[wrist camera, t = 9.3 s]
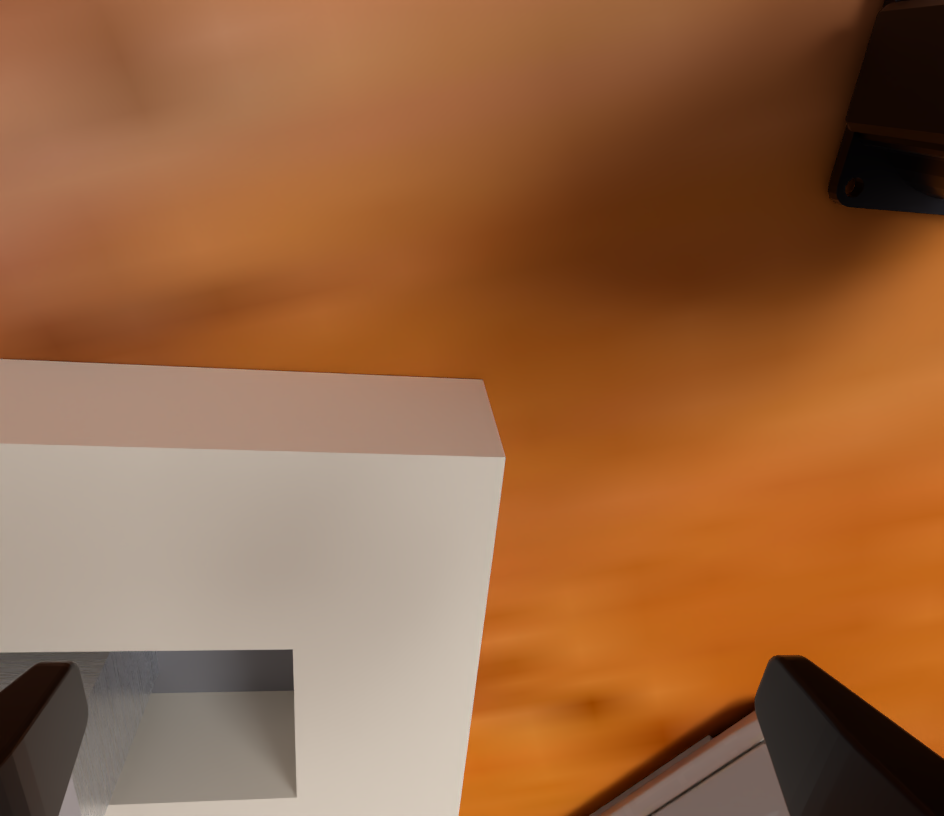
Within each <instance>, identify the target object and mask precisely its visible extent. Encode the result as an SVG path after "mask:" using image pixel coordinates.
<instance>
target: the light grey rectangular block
mask: <svg viewBox="0 0 944 816" xmlns="http://www.w3.org/2000/svg"><path fill="white" fill-rule="evenodd" d="M42 661H73V662H75V663H77V665H78V666H79V669H80V672H81V677H82V681H83V686H84V690H85V695H86V699H87V704H88V721H87V726H86V730H85V733H84V736H83V740H82V743H81V746H80V749H79V752H78V756H77V759H76V762H75V765H74V768H73V772H72V775H71V778H70V781H69V784H68V788H67V791H66V794H65V797H64V800H63V804H62V807H61V810H60V813H59V816H104V815H105V813H106V810H107V807H108V805H109V802H110V800H111V797H112V794H113V792H114V789H115V786H116V784H117V781H118V779H119V776H120V773H121V771H122V768H123V765H124V763H125V760H126V758H127V755H128V752H129V750H130V747H131V744H132V742H133V739H134V737H135V734H136V731H137V729H138V726H139V723H140V721H141V718H142V716H143V713H144V710H145V708H146V705H147V702H148V700H149V697H150V695H151V692H152V689H153V687H154V684H155V681H156V679H157V676H158V674H159V664H158V657H157V651H99V652H6V653H0V691H1V690H3V689H4V688H5V687H6V686H8V685H9V684H10V683H11V682H13V681H14V680H15V679H17V678H18V677H19V676H20V675H22V674H23V673H24V672H25V671H27V670H28V669H29V668H31V667H32V666H33V665H35V664H37V663H39V662H42Z"/></svg>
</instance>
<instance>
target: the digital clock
mask: <svg viewBox="0 0 944 816" xmlns="http://www.w3.org/2000/svg"><path fill="white" fill-rule="evenodd" d="M589 816H790V815H789V812H788V810H787V807H786V804H785V801H784V798H783V795H782V792H781V789H780V786H779V783H778V780H777V777H776V774H775V771H774V768H773V765H772V762H771V759H770V756H769V753H768V750H767V747H766V744H765V740H764V737H763V734H762V731H761V728H760V725H759V722H758V719H757V716H756V712H755V711H753V712H752V713H750V714H749V715H747V716H746V717H744V718H743V719H741V720H740V721H738V722H737V723H735V724H734V725H732V726H731V727H729V728H728V729H727V730H725V731H724V732H722V733H721V734H719V735H718V736H716V737H715V738H713V737H711V736H710V735H708V736H706V737H705V738H703V739H702V740H700V741H699V742H697V743H696V744H694V745H693V746H692V747H690V748H689V749H687V750H686V751H684V752H683V753H681V754H680V755H678V756H677V757H675V758H674V759H672V760H671V761H669V762H668V763H666V764H665V765H663V766H662V767H660V768H659V769H657V770H656V771H655V772H653V773H652V774H650V775H649V776H647V777H646V778H644V779H643V780H641V781H640V782H638V783H637V784H635V785H634V786H632V787H631V788H629V789H628V790H626V791H625V792H623V793H622V794H621V795H619V796H618V797H616V798H615V799H613V800H612V801H610V802H609V803H607V804H606V805H604V806H603V807H601V808H600V809H598V810H597V811H595V812H594V813H592V814H591V815H589Z"/></svg>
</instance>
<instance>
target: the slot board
mask: <svg viewBox="0 0 944 816" xmlns="http://www.w3.org/2000/svg"><path fill="white" fill-rule="evenodd" d="M505 459H506V457H505V453H504V450H503V447H502V443H501V440H500V436H499V433H498V430H497V426H496V423H495V419H494V416H493V413H492V409H491V406H490V402H489V399H488V396H487V392H486V389H485V386H484V382H483V380H479V379H456V378H433V377H409V376H386V375H363V374H339V373H316V372H292V371H269V370H246V369H222V368H199V367H176V366H152V365H129V364H106V363H82V362H59V361H36V360H12V359H0V653H6V652H99V651H157V657H158V664H159V674H158V676H157V679H156V681H155V684H154V687H153V689H152V692H151V695H150V697H149V700H148V702H147V705H146V708H145V710H144V713H143V716H142V718H141V721H140V723H139V726H138V729H137V731H136V734H135V737H134V739H133V742H132V744H131V747H130V750H129V752H128V755H127V758H126V760H125V763H124V765H123V768H122V771H121V773H120V776H119V779H118V781H117V784H116V786H115V789H114V792H113V794H112V797H111V800H110V802H109V805H108V807H107V810H106V813H105V815H104V816H458V815H459V807H460V800H461V792H462V785H463V777H464V769H465V762H466V754H467V747H468V739H469V732H470V724H471V716H472V709H473V701H474V694H475V686H476V678H477V671H478V663H479V656H480V648H481V641H482V633H483V625H484V618H485V610H486V603H487V595H488V588H489V580H490V572H491V565H492V557H493V550H494V542H495V535H496V527H497V519H498V512H499V504H500V497H501V489H502V482H503V474H504V466H505Z"/></svg>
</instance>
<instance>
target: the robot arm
mask: <svg viewBox="0 0 944 816" xmlns="http://www.w3.org/2000/svg"><path fill="white" fill-rule="evenodd" d="M846 123H847V126H846V129H845V132H844V135H843V139H842V142H841V145H840V148H839V152H838V155H837V158H836V162H835V165H834V168H833V171H832V175H831V178H830V181H829V185H828V194H829V198H830V199H831V200H832V201H833V202H834V203H837V204H840V205H844V206H847V207H854V208H866V209H878V210H890V211H902V212H914V213H926V214H938V215H944V0H885V2H884V5H883V8H882V10H881V11H880V12H879V13H878V15H877V17H876V20H875V24H874V27H873V30H872V33H871V37H870V40H869V43H868V47H867V50H866V53H865V56H864V60H863V63H862V66H861V70H860V73H859V76H858V79H857V83H856V86H855V89H854V93H853V96H852V99H851V102H850V106H849V109H848V112H847V116H846ZM853 178H854V180H855V186H854V188H853V190H852V191H851V192H850V193H848V194H846V193H845V188H846V185H847V184H848V182H849V181H850V180H852V179H853ZM755 712H756V716H757V719H758V722H759V725H760V728H761V731H762V734H763V737H764V740H765V744H766V747H767V750H768V753H769V756H770V759H771V762H772V765H773V768H774V771H775V774H776V777H777V780H778V783H779V786H780V789H781V792H782V795H783V798H784V801H785V804H786V807H787V810H788V812H789V815H790V816H944V759H943V758H942V757H941V756H939V755H938V754H937V753H935V752H934V751H932V750H931V749H930V748H928V747H927V746H926V745H924V744H923V743H922V742H920V741H919V740H917V739H916V738H915V737H913V736H912V735H911V734H909V733H908V732H907V731H905V730H904V729H902V728H901V727H900V726H898V725H897V724H896V723H894V722H893V721H892V720H890V719H889V718H888V717H886V716H885V715H883V714H882V713H881V712H879V711H878V710H877V709H875V708H874V707H873V706H871V705H870V704H868V703H867V702H866V701H864V700H863V699H862V698H860V697H859V696H858V695H856V694H855V693H854V692H852V691H851V690H849V689H848V688H847V687H845V686H844V685H843V684H841V683H840V682H839V681H837V680H836V679H834V678H833V677H832V676H830V675H829V674H828V673H826V672H825V671H824V670H822V669H821V668H820V667H818V666H817V665H815V664H814V663H813V662H811V661H810V660H808V659H807V658H805V657H803V656H800V655H776V656H773V657H772V658H771V659H770V660H769V662H768V664H767V667H766V669H765V672H764V674H763V677H762V680H761V682H760V685H759V687H758V690H757V693H756V696H755ZM87 721H88V704H87V699H86V695H85V690H84V686H83V681H82V677H81V672H80V669H79V666H78V665H77V663H75V662H73V661H42V662H39V663H37V664H35V665H33V666H32V667H31V668H29V669H28V670H27V671H25V672H24V673H23V674H22V675H20V676H19V677H18V678H17V679H15V680H14V681H13V682H11V683H10V684H9V685H8V686H6V687H5V688H4V689H3V690H1V691H0V816H59V813H60V810H61V807H62V804H63V800H64V797H65V794H66V791H67V788H68V784H69V781H70V778H71V775H72V772H73V768H74V765H75V762H76V759H77V756H78V752H79V749H80V746H81V743H82V740H83V736H84V733H85V730H86V726H87Z"/></svg>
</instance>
